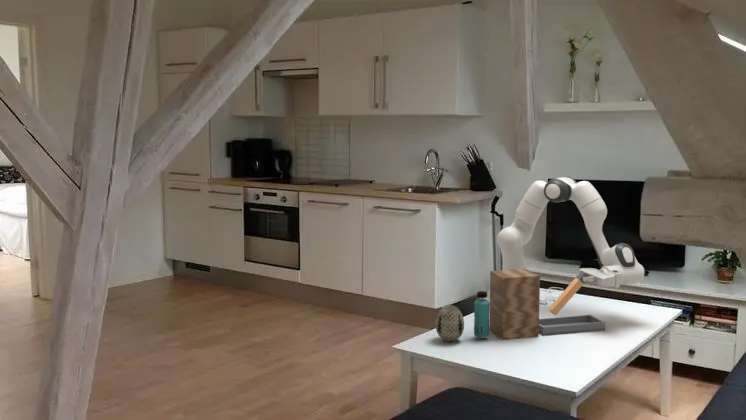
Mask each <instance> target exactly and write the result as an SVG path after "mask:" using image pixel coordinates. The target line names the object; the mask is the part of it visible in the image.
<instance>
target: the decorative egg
mask: <svg viewBox="0 0 746 420" xmlns="http://www.w3.org/2000/svg"><path fill="white" fill-rule="evenodd" d="M462 313H463V312H462V311H461V310H460V309H459V307H457V306H455V305H454V304H448V305H444V306H443V307H441V309H440V310H439V311H438V313H437V314H436V318H435V329H436V333H437V335H438V336H439V338H441V339H442V340H443V341H446V342H454V341H456V340H458V339H460V338H461V337H462V335H463V333H464V330H465V320H464V316H463V314H462Z"/></svg>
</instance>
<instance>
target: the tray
mask: <svg viewBox="0 0 746 420" xmlns="http://www.w3.org/2000/svg"><path fill="white" fill-rule="evenodd" d="M605 330H606V322H605V321H603V320H602V319H600V318H597V317H596V316H594V315H592V314H582V315H572V316H571V315H568V316H567V315H566V316H557V317H555V316H554V317H544V318H539V334H540V335H541V336H543V337H545V336H553V335H564V334H565V335H567V334H576V333H577V334H578V333H588V332H589V333H590V332H600V331H605Z"/></svg>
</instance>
